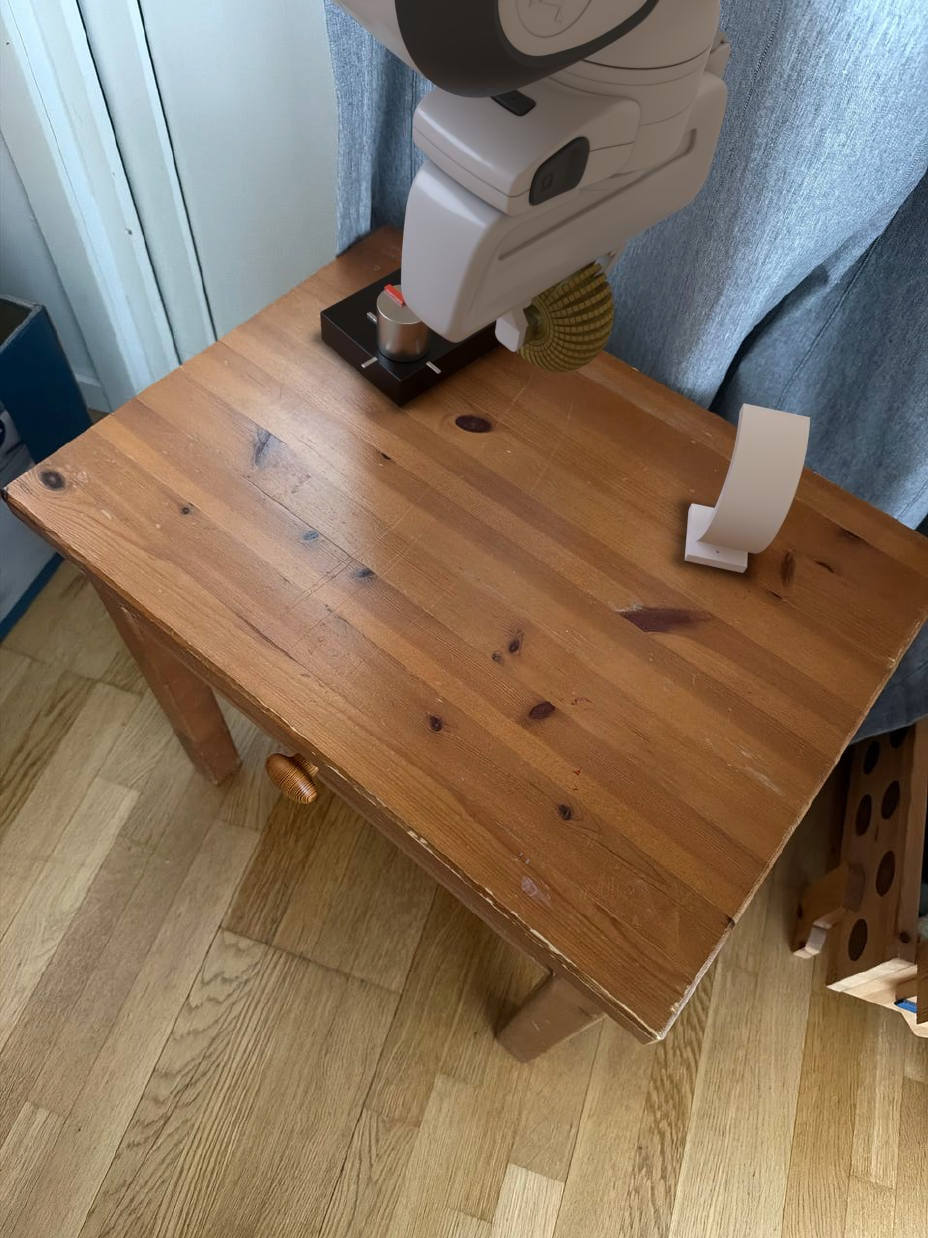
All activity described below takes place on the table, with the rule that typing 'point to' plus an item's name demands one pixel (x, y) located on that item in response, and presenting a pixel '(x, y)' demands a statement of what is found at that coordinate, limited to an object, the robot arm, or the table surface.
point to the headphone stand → (751, 490)
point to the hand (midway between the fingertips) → (546, 320)
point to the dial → (400, 328)
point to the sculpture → (571, 321)
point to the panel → (355, 341)
